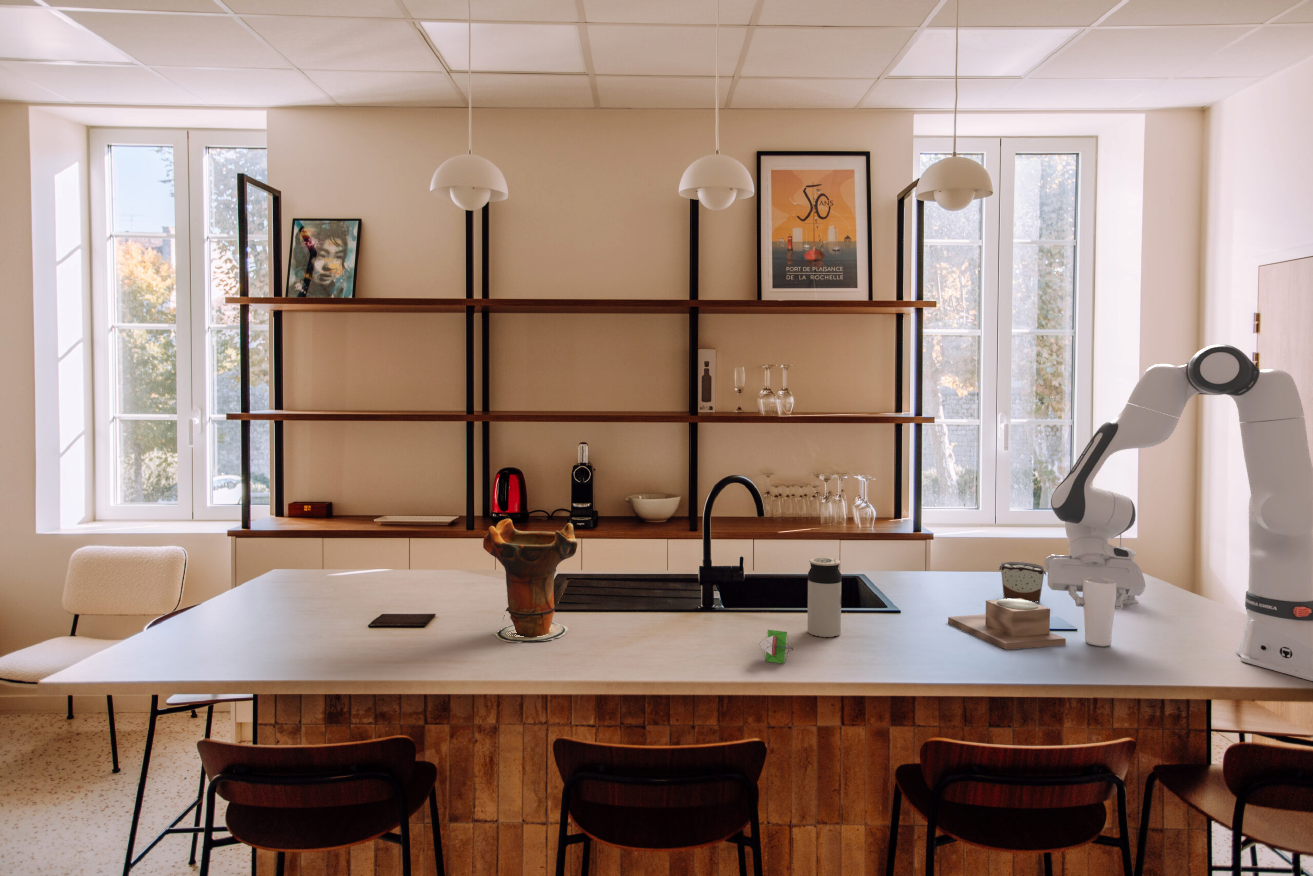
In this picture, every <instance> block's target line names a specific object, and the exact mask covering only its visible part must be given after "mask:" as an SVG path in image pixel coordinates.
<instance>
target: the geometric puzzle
mask: <svg viewBox="0 0 1313 876" xmlns="http://www.w3.org/2000/svg"><path fill="white" fill-rule="evenodd" d="M766 634H767V636H766V637H763V638H762V639H761V641H760V642H759V643H758V646H759V647H760V648H761V649H760V650H761V652H763V654H762V655H763V657H765V658H764V662H767V663H768V662H770V663H777V664H783V665H784V664H786V661H787V658H788V653H790V654H789V655H791V653H792V651H794V647H793V645H792V643H789V640H788V641H787V638H789V634H788V631H782V630H774V629H767V632H766ZM787 642H788V643H787ZM788 644H791V646H790V645H789V646H787V645H788ZM787 649H788V651H787V652H786V650H787ZM790 649H791V650H790ZM765 652H766V653H765Z"/></svg>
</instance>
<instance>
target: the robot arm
mask: <svg viewBox="0 0 1313 876" xmlns="http://www.w3.org/2000/svg"><path fill="white" fill-rule="evenodd" d="M1195 395H1204V396H1205V395H1207V396H1208V395H1209V396H1211V395H1212V396H1222V395H1226V396H1229V397H1230V398H1232V399H1233V401H1234V402H1235V404H1236V408H1237V413H1238V420H1239V426H1240V427H1239V428H1240V436H1241V442H1242V449H1243V458H1244V462H1245V468H1246V473H1247V479H1248V484H1249V490H1250V496H1249V502H1248V503H1249V505H1248V540H1249V541H1248V547H1249V553H1248V555H1249V557H1248V560H1249V565H1248V589H1247V591H1245V598H1244V599H1245V600H1244V602H1245V603H1244V606H1245V609H1246V617H1245V621H1244V622H1245V623H1244V627H1243V628H1244V629H1243V633H1242V636H1241V640H1240V642H1239V645H1238V648H1237V650H1236V653H1237V654H1238V655H1239V656H1240V661H1241V662H1243V663H1245V664H1250V665H1254V666H1257V667H1261V668H1264V669H1268V670H1271V671H1274V672H1278V673H1282V674H1286V675H1290V676H1292V677H1297V678H1301V679H1303V680H1308V681H1311V682H1313V463H1312V459H1311V453H1310V450H1309V442H1308V433H1307V427H1306V420H1305V414H1304V408H1303V404H1302V403H1303V402H1302V399H1301V396H1300V393H1299V390H1298V387H1297V385H1296V382H1295V380H1294V378H1293V376H1292V375H1291V374H1289V373H1288V372H1286V371H1283V370H1280V369H1276V368H1275V369H1274V368H1268V369H1267V368H1265V369H1260V368H1259V367H1258V366H1257V365H1256V364H1255V363H1254V362H1253V361H1252V360H1251V359H1250V358H1249V357H1248V356H1247V355H1246V354H1245V353H1244V351H1242V350H1240V349H1239V348H1237V347H1235V346H1233V345H1229V344H1225V343H1224V344H1219V343H1217V344H1213V345H1212V344H1211V345H1208V346H1206V347H1204V348H1202V349H1200V350H1198V351H1197V352H1196V353H1195V354H1194V355H1192V357H1191V359H1190V360H1188V361H1187V362H1186V363H1184V364H1183V365H1174V364H1170V363H1169V364H1168V363H1159V364H1154V365H1152V366H1150V367H1148V368H1147V369H1146V370H1145V371H1144V372H1143V374H1142V376H1141V377H1140V378H1139V380H1138V382H1137V383H1136V385H1135V386H1134V388H1133V390H1132V392H1131V394H1130V396H1129V398H1128V400H1127V403H1126V404H1125V406H1124V407H1123V410H1122V411H1121V412H1120V413H1119V414H1118V415H1117V417H1115V418H1114V419H1113V420H1111V421H1106V422H1104V423H1103V424H1102V425H1101V426H1100V427H1099V428H1098V429H1097V430H1096V431H1095V433H1094V434H1093V436H1092V437H1091V439H1090V440H1089V442H1088V443H1087V445H1086V446H1085V447H1084V449H1083V451H1082V453H1081V454H1080V455H1079V457H1078V459H1077V460H1076V462H1075V463H1074V465H1073V466H1072V467H1071V469H1070V471H1069V473H1067V475H1066V477H1065V478H1064V479H1063V480H1062V481H1061V482H1060V483H1059V485H1058V486H1057V487H1056V488H1055V490H1054V492H1053V493H1052V495H1051V499H1050V505H1051V509H1052V511H1053V513H1054V514H1055V516H1056V517H1057V518H1058V519H1059V520H1060V521H1061V522H1064V525H1065V526H1064V527H1065V533H1066V534H1065V535H1066V537H1067V539H1068V552H1069V555H1067V554H1066V555H1061V554H1060V555H1057V554H1050V555H1049V556H1047V557H1044V558H1045V559H1044V568H1045V570H1047V586H1048V588H1050V590H1052V591H1062V592H1068V595H1069V596H1070V598H1072V600H1074V602H1075V607H1080V608H1083V605H1084V601H1083V600H1084V599H1083V596H1079V594H1078V593H1083V579H1084V578H1088V577H1092V578H1090V579H1089V580H1088V581H1090V582H1095V583H1104V584H1109V583H1108V582H1107V581H1105V580H1104V579H1102V578H1105V579H1110V580H1113V581H1115V582H1116V594H1117V597H1118V598H1119V600H1116V604H1115V610H1118V611H1119V610H1123V608H1124V603H1122V601H1123V599H1124V597H1125V595H1133V596H1135V597H1136V596H1137V597H1140V596H1141V595H1142V594H1143V593H1144V592H1145V590H1146V586H1147V585H1146V581H1145V578H1144V575H1143V572H1142V571H1143V570H1142V569H1141V567H1140V566H1139V564H1138V563H1137V562H1135V561H1134V559H1135V555H1134V554H1133V552H1131V551H1129V550H1125V549H1121V548H1118V547H1115V546H1114V545H1113V544H1109V540H1110V539H1114V538H1116V537H1118V536H1120V534H1121V535H1122V534H1123V533H1125V532H1126V531H1128V530H1130V529H1131V528H1132V527H1133V526H1134V524H1135V521H1136V508H1135V504H1134V502H1133V501H1132V499H1131V498H1130V497H1129V496H1126V495H1123V494H1119V493H1117V492H1113V491H1110V490H1104V489H1102V488H1098V487H1095V486H1092V485H1091V483H1092V482H1093V481H1094V480H1095V478H1096V476H1097V474H1098V473H1099V471H1100V470H1101V468H1102V467H1103V465H1104V464H1105V462H1106V461H1107V459H1109V457H1110V456H1111V455H1113V454H1114V453H1117V452H1119V451H1123V450H1124V451H1125V450H1130V449H1131V450H1132V449H1146V448H1151V447H1156V446H1157V445H1160V444H1162V443H1164V442H1165V441H1167V440H1168V439H1169V438H1170V437H1171V435H1172V434H1173V433H1174V431H1175V429H1176V428H1177V425H1178V423H1179V421H1180V418H1181V416H1182V414H1183V411H1184V409H1185V408H1186V406H1187V404H1188V402H1189V401H1190V400H1191V399H1192V398H1193V397H1194V396H1195Z"/></svg>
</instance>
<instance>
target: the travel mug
mask: <svg viewBox="0 0 1313 876" xmlns="http://www.w3.org/2000/svg"><path fill="white" fill-rule="evenodd" d="M808 562H809V563H810V568H809V570H808V572H807V633H809V634H810V635H812V636H814V635H815V636H814V637H817V636H819V637H818V638H826V637H829V638H835V637H834V636H836V637H837V636H840V635H841V634H842V631H841V630H842V628H841V627H842V573H841V571H840V569H839V568H840V564H841V561H840V560H839V559H837V558H832V557H813V558H810V559H809V560H808Z"/></svg>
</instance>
